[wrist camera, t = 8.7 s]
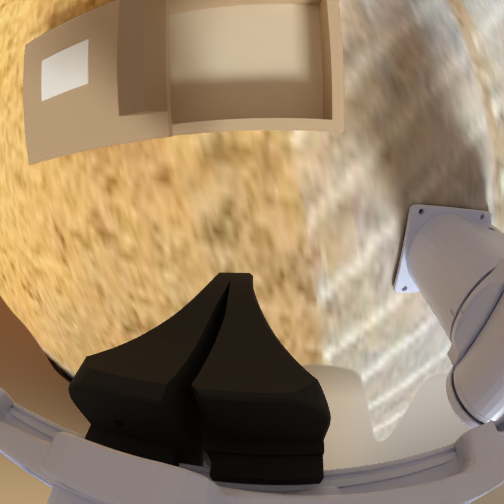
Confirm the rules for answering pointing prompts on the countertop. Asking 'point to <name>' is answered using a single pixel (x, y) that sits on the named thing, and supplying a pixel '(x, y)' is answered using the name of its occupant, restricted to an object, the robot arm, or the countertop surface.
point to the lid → (98, 80)
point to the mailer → (255, 65)
